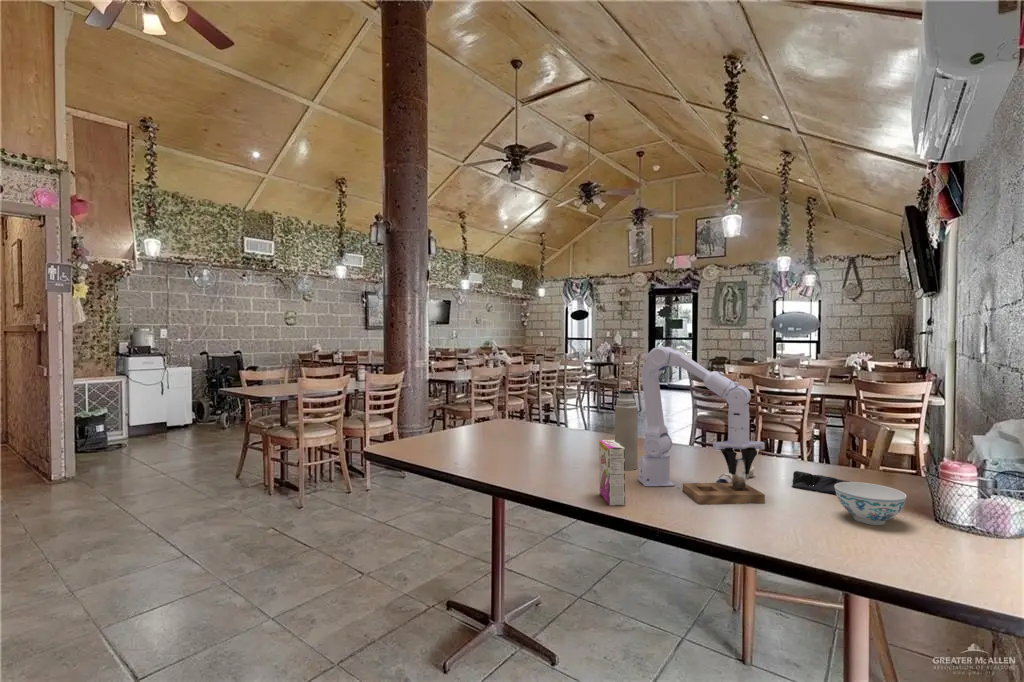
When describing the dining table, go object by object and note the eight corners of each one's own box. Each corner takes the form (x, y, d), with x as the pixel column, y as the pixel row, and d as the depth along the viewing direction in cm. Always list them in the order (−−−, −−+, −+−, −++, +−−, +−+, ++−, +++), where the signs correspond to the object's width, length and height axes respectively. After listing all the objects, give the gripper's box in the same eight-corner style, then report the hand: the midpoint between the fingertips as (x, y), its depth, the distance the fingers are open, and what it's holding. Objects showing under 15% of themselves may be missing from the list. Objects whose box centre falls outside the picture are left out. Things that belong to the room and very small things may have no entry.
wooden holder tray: (698, 504, 140) (698, 495, 140) (682, 491, 152) (682, 483, 152) (764, 503, 141) (764, 494, 141) (743, 490, 153) (743, 482, 153)
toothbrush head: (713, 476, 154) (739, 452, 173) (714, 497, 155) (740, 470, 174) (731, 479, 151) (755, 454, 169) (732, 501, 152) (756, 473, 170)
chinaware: (910, 536, 117) (910, 503, 117) (834, 523, 125) (834, 493, 125) (902, 516, 130) (902, 487, 130) (833, 506, 138) (833, 478, 138)
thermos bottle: (616, 464, 186) (616, 389, 186) (638, 465, 183) (638, 389, 183) (613, 469, 178) (613, 391, 178) (636, 471, 176) (636, 391, 176)
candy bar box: (598, 494, 150) (598, 439, 150) (614, 493, 150) (614, 439, 150) (608, 506, 138) (608, 447, 138) (626, 506, 139) (625, 447, 139)
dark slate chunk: (871, 504, 141) (871, 488, 141) (786, 488, 157) (786, 473, 157) (882, 493, 152) (882, 477, 152) (802, 478, 167) (802, 464, 167)
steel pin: (735, 487, 145) (735, 460, 145) (730, 484, 148) (730, 457, 148) (748, 487, 145) (748, 459, 145) (741, 483, 148) (741, 457, 148)
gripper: (720, 430, 142) (720, 477, 142) (770, 429, 143) (770, 476, 143) (710, 425, 149) (710, 471, 149) (757, 425, 150) (757, 470, 150)
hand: (738, 473), depth 147 cm, fingers closed on steel pin, 4 cm apart
